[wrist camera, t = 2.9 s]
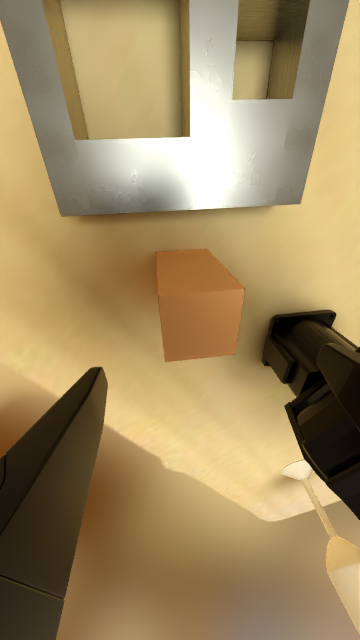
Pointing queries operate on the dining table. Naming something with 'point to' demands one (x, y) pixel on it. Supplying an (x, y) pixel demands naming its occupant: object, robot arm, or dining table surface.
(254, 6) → the socket plate
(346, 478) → the robot arm
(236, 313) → the peg
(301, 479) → the champagne flute
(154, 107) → the dining table surface
